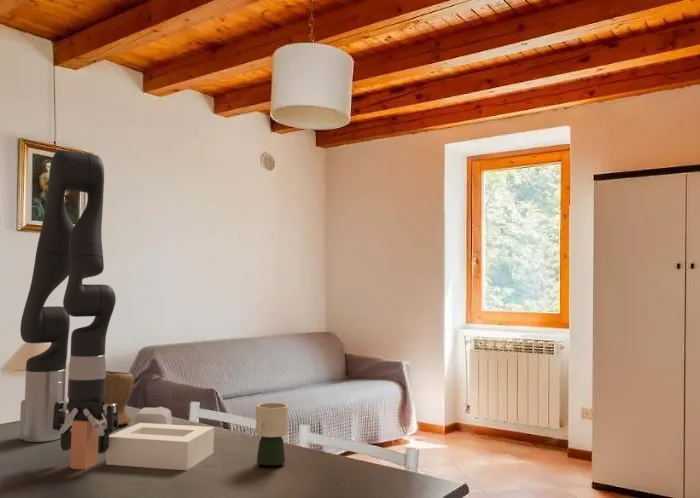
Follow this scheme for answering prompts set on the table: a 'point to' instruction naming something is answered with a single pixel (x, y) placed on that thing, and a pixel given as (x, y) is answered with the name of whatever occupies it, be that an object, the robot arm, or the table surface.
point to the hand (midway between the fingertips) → (84, 451)
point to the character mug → (271, 432)
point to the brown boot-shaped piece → (118, 393)
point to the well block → (160, 446)
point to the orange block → (83, 445)
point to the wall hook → (154, 416)
